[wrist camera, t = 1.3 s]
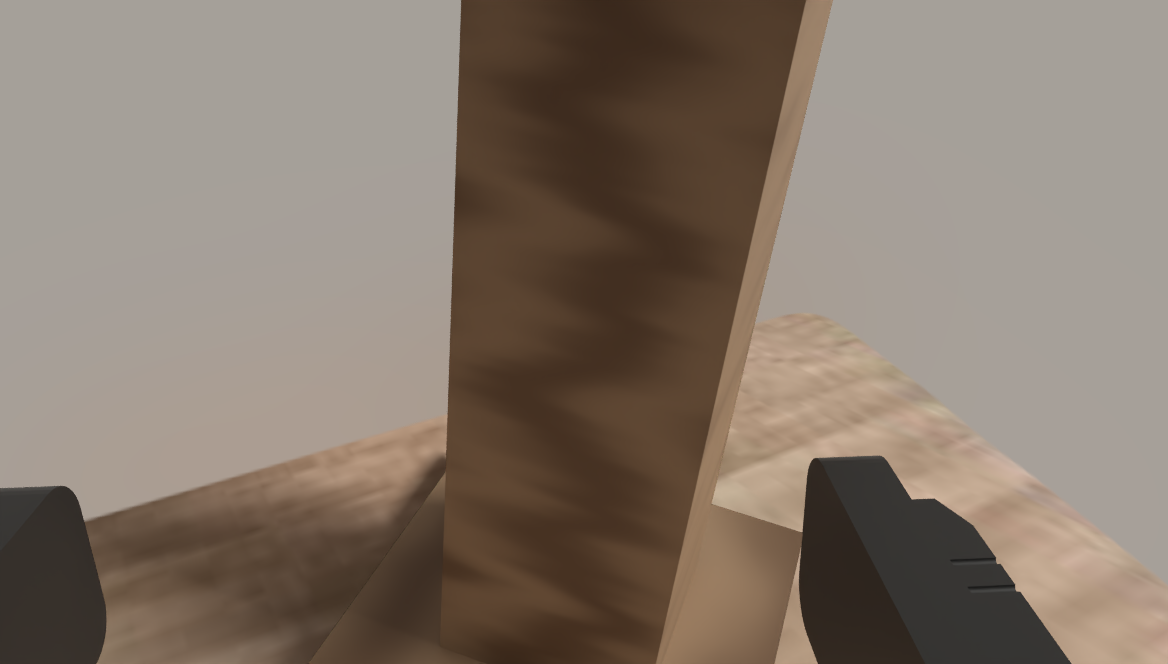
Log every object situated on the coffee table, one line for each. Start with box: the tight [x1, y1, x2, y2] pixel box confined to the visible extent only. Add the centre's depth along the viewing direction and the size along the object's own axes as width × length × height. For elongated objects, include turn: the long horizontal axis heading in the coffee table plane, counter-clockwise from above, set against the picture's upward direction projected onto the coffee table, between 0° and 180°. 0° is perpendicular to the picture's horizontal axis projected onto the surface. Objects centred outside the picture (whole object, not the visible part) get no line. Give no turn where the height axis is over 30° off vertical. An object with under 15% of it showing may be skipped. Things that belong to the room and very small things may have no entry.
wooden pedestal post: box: [308, 0, 833, 664], centre depth 32 cm, size 16×16×32 cm
